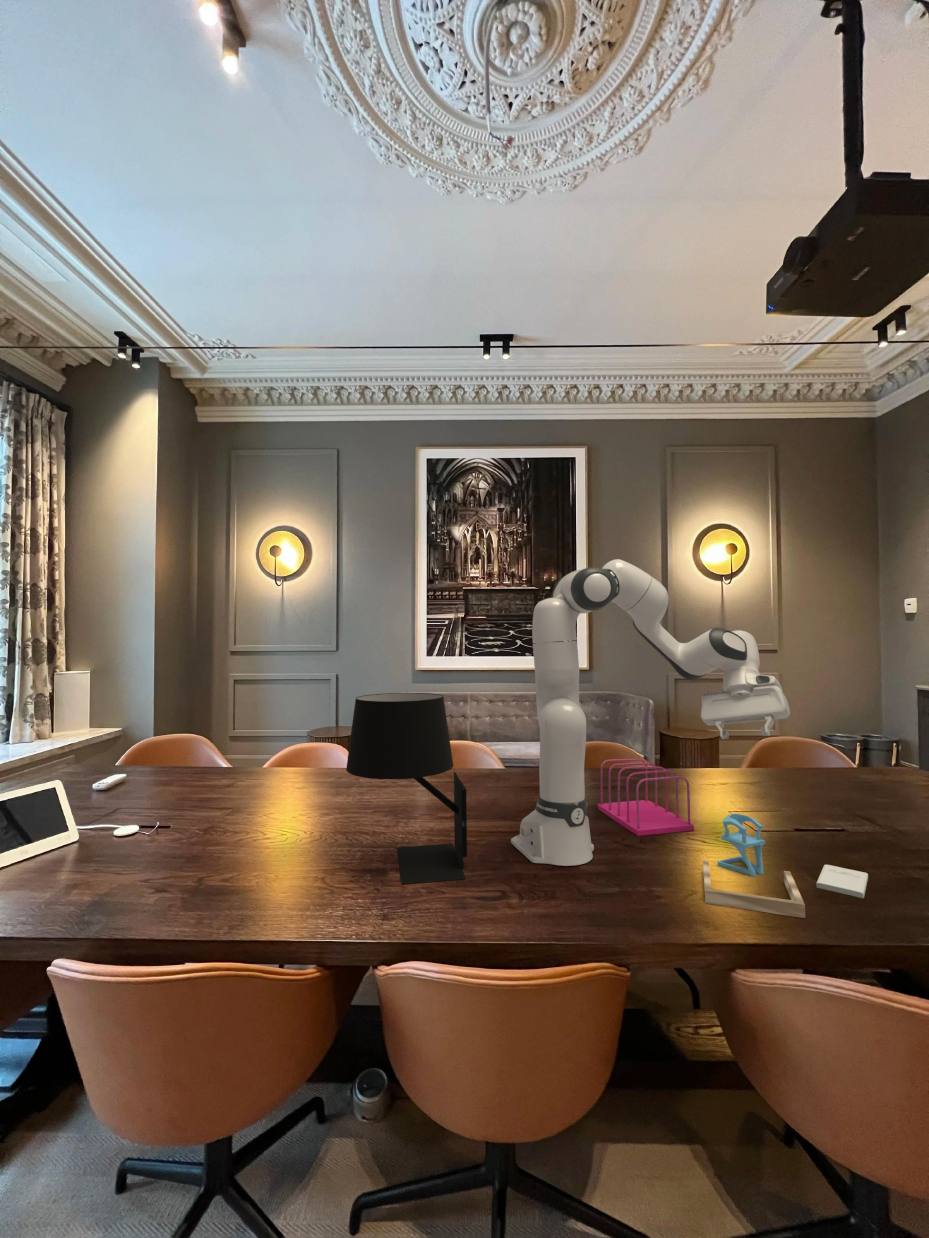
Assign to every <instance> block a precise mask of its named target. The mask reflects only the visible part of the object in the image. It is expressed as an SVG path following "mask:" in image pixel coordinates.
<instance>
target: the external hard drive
mask: <svg viewBox="0 0 929 1238" xmlns="http://www.w3.org/2000/svg"><path fill="white" fill-rule="evenodd" d="M868 882H869V874H868V873H867V872H863V871H860V870H859V871H858V870H854V869H851V868H850V869H849V868H844V867H840V866H835V865H831V864H824V865H823V867H822V870H821V871H820V874H819V876H818V879H817V881H816V888H817V889H822V890H825V891H829V892H834V893H839V894H844V895H849V896H850V897H851V896H853V897H856V898H861V899H865V894H866V892H867V891H866V890H867V885H868Z"/></svg>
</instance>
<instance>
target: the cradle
mask: <svg viewBox="0 0 929 1238" xmlns="http://www.w3.org/2000/svg"><path fill="white" fill-rule="evenodd" d="M702 874H703V875H702V876H703V887H704V888H703V889H704V902H705V904H709V905H715V906H723V907H729V908H730V907H731V908H735V909H741V910H743V909H744V910H748V911H755V912H761V913H768V914H774V915H775V914H776V915H781V916H787V917H796V918H801V919H806V904H805V902H804V899H803V897H802V895H801V893H800V891H799V888H798V886H797V884H796V882H795V879H794V878H793V877H794V876H793V875H792V873H791V871H790V870H789V871H788V870H787V871H786V870H783V882H784V883H783V884H784V886H785V888H786V891H787V893H788V895H789V898H790V899H783V898H777V897H769V896H764V895H758V894H750V893H743V892H735V891H730V890H729V891H728V890H722V889H715V888H712V883H711V872H710V862H709V861H708V860H702Z"/></svg>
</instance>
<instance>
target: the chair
mask: <svg viewBox="0 0 929 1238" xmlns="http://www.w3.org/2000/svg"><path fill="white" fill-rule="evenodd" d="M745 822H749V823H752V824H753V825H754V826H755V827H756V828H757V831H756V835H755V836H753V835H750V834H748V833H747V830H748V829H747V828H746V827H744V823H745ZM722 823H723V827H724V829H725V830H724V831H725V832H724V834H721V837H720V839H721V840H723V841H725V842H728V843H729V844H731V845H732V846H733V847H734V848H736V850H737V851H738V852H739V854H740V855H739V856H735V857H731V858H726V859H722V860H718V861H717V866H719V867H720V868H721V867H722V868H723V869H724V868H725V869H728V870H732V871H733V872H734V871H735V872H738V873H742V874H745V875H747V876H751V877H753V878H754V877H755V878H756V877H757V874H759V875H762V876H763V875H765V873H764V864H763V852H762V850H763V846H764V845H765V844H766V840H764V839H762V837H761V832H762V830H763V827H764V825H762V824H761V823H759V822H758V821H757V820H756V819H755V818H753V817H751V816H749V815H745V814H739V813H731V814H729V815H727V816H726V817H724V818H723V819H722ZM728 826H733V827H735V828H737V829H738V831H736V832H733V833H730V829H729V827H728ZM753 847H754V851H755V859H756V864H754V863H753V862H751V861H750V860H749V857H748V855H747V853H746V849H750V848H753ZM737 862H742V863H743V864H744V865H745V866H746V867H747V868H745V867H741V866H738V865H734V864H732V863H737Z"/></svg>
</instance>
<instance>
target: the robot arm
mask: <svg viewBox="0 0 929 1238" xmlns="http://www.w3.org/2000/svg"><path fill="white" fill-rule="evenodd" d="M609 603H613V604H615V605H617V606H618V607H619V608H621V610H623V611H624V612H626V613H627V614H628V615H629V616H630V617H631V619H632V625H633V627H634V629H635V630H636V632H637V633H638V634H639V636H641V637H642V638H643V639H644V640H645V642H647V643H648V644H650V646H651V647H653V648H654V649H655V650H656V652H657V653H659V654H660V655H661V656H662V657H663V658H664V659H665V660H666V661H668V663H669V664H670V666H671V667H672V668H673V669H674V671H675V672H676V673H677V674H678V675H679V676H680V677H682V678H684V679H687V680H690V681H697V680H700V679H701V678H703V677H705V676H706V675H708V674H709V673H711V672H713V671H716V670H718V669H720V670H722V671H723V675H722V676H723V678H722V680H723V689H722V690H716V691H708V692H706V693H704V695H702V696H701V710H700V719H701V720H702V721H703V723H704V724H706V725H707V726H708V727H710V726H716V727H717V729H718V730H719V733H720V734H719V736H720V738H721V740H728V739H729V738H730V737H729V736H730V733H729V731H728V730H727V729H723V728H725V725H731V724H732V725H733V724H741V723H742V724H743V723H753V722H764V721H766V722H765V724H764V726H760V733H761V735H762V736H763V737H769V736H771V729H772V727H773V726H774V724H775V720H781V719H784V720H785V719H787V718H788V717H790V715H791V711H790V705H789V701H788V699H787V696H785V694H784V692H783V691H784V690H783V688H782V685H781V683H780V682H779V680H778V679H777V678H776V677H775V676H773V675H767V674H760V671H759V670H760V665H761V663H760V661H761V660H760V653H759V647H758V644H757V641H756V639H755V637H754V636H753V635H752V634H751V633H749V631H748V632H747V631H745V630H740V629H736V630H732V631H731V630H729V629H726V628H724V627H719V626H718V627H713V628H711V629H709V630H708V631H706V632H704V633H702V634H700V635H699V636H697V637H695V638H694V639H692V640H690V641H689V642H679V641H678V640H677V639H675V638H674V636H673V635H671V633H669V632H668V630H666V629H665V628H664V627H663V626H662V624H661V621H662V620H663V618H664V616H665V615H666V611H667V609H668V605H669V594H668V591H667V589H666V587H665V586H664V585H663V584H662V583H661V582H660V581H659V580H657V579H655V577H653V576H651V575H650V574H649V573H647V572H646V571H644V570H643V569H642V568H639V567H637V566H635V565H634V564H632V563H630V562H627V561H625V560H622V559H619V558H617V559H612V560H610V561H608V562H606V563H605V564H603V566H602V568H601V567H585V568H582V569H577V570H573V571H571V572H570V573H568V574H566V575H564V576H562V577H561V578H559V579H558V581H557V582H556V583H555V585H554V587H553V590H552V592H551V594H550V596H549V597H547V598H544V599H542V600H540V601H539V602H537V604H536V605H535V607H534V609H533V615H532V629H531V631H532V633H531V634H532V636H531V638H532V652H533V662H534V664H533V665H534V675H535V676H534V677H535V678H534V679H535V680H534V681H535V697H536V699H535V701H536V715H537V716H536V717H537V722H538V725H539V762H538V763H539V764H538V766H539V772H538V773H539V795H536V796H535V795H534V796H533V798H535V799H533V801H534V802H536V804H535V807H534V808H535V809H534V810H533V811H531V812H530V813H529V814H528V815H527V816H525V817H524V818H522V819H521V822H520V824H519V825H520V826H519V827H520V828H519V834H517V835H515V836H513V837H512V838H511V839H510V843H511V845H513V846H514V847H515V848H516V849H517V850H518V851H519V852H520V853H521V854H522V855H523V856H524V857H525V858H527V860H529V861H530V862H531V863H534V864H548V865H554V866H564V867H568V866H569V867H570V866H580V865H583V864H587V863H589V862H590V861H591V860H593V858H594V854H593V851H594V850H595V846H594V843H592V840H591V832H590V831H591V830H590V822H589V817H588V816H587V814H588V802H587V798H586V796H585V795H586V794H585V792H586V791H585V789H586V788H585V759H586V757H585V756H586V746H587V745H586V744H587V718H586V714H585V712H584V710H583V709H582V707H581V706H580V663H579V661H580V660H579V650H578V641H577V640H578V638H577V637H578V636H577V629H576V627H577V621H578V619H579V618H578V617H579V616H580V614H589V613H591V612H596V611H599V610H601V609H603V608H604V607H606V606H607V605H608V604H609Z"/></svg>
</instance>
